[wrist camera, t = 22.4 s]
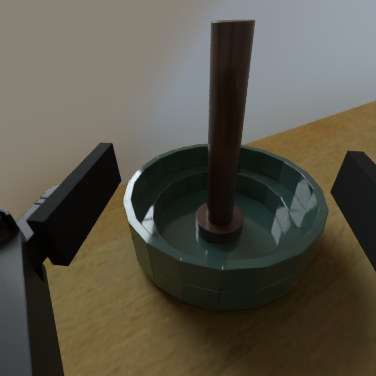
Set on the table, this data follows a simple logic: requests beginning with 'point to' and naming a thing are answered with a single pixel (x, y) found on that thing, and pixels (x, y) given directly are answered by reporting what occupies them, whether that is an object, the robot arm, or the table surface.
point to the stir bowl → (236, 250)
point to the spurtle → (225, 128)
